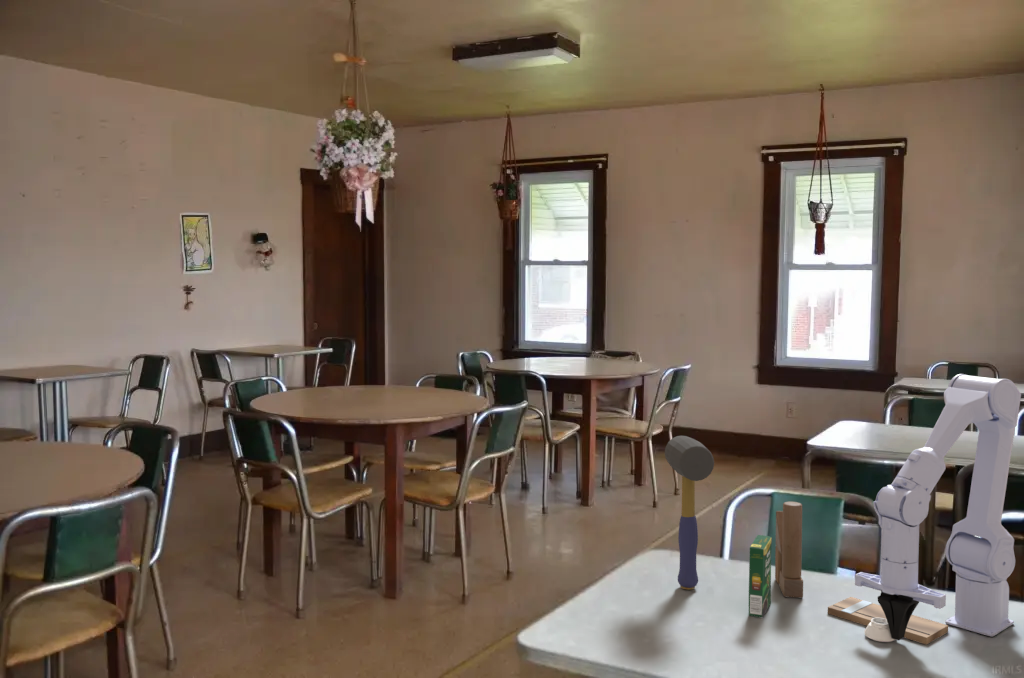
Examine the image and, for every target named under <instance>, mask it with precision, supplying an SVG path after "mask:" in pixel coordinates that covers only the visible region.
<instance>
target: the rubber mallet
mask: <svg viewBox="0 0 1024 678" xmlns="http://www.w3.org/2000/svg"><path fill="white" fill-rule="evenodd" d="M664 457H665V459H666V461H667V463H668V464H669V466H670V468H672V469H673V470H674V471H675V472H676V474H679V475H680V476H681V516H680V519H679V526H678V535H677V536H678V538H677V539H678V541H677V542H678V548H679V571H678V575H677V583H678V584H679V587H680V588H681V589H683V590H689V591H691V590H695V589H696V586H698V582H699V576H698V572H697V553H698V552H697V551H698V543H699V530H698V528H699V527H698V521H697V517H696V513H695V511H696V510H695V509H696V505H695V503H696V500H695V499H696V495H695V491H696V490H695V489H696V487H695V484H696V483H695V482H698V481H699V482H700V481H702V480H705V479H707V478H708V477H709V476H710V475H711V474H712V472H713V470H714V466H715V459H714V456H713V454H712V452H711V451H710V450H709V449H708V447H706V446H705V445H704V444H703V443H702V442H700V441H698V440H696V439H695V438H692V437H689V436H687V435H677V436H675V437H672V438H671V439H670V440H669V441H668V442H667V443H666V446H665V448H664Z"/></svg>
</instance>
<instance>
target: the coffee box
mask: <svg viewBox="0 0 1024 678" xmlns="http://www.w3.org/2000/svg"><path fill="white" fill-rule="evenodd" d="M772 541H773V540H772V536H769V535H763V534H762V535H761V534H757V535H756V536H755V538H754V540H753V541H752V543H751V545H750V546H749V557H748V559H749V561H748V562H749V564H748V571H749V573H748V616H749V617H755V618H761V619H762V618H764V616H765V615H766V613H767V610H768V609H769V607H770V605H771V603H772V595H771V593H772V585H771V584H772Z"/></svg>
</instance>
